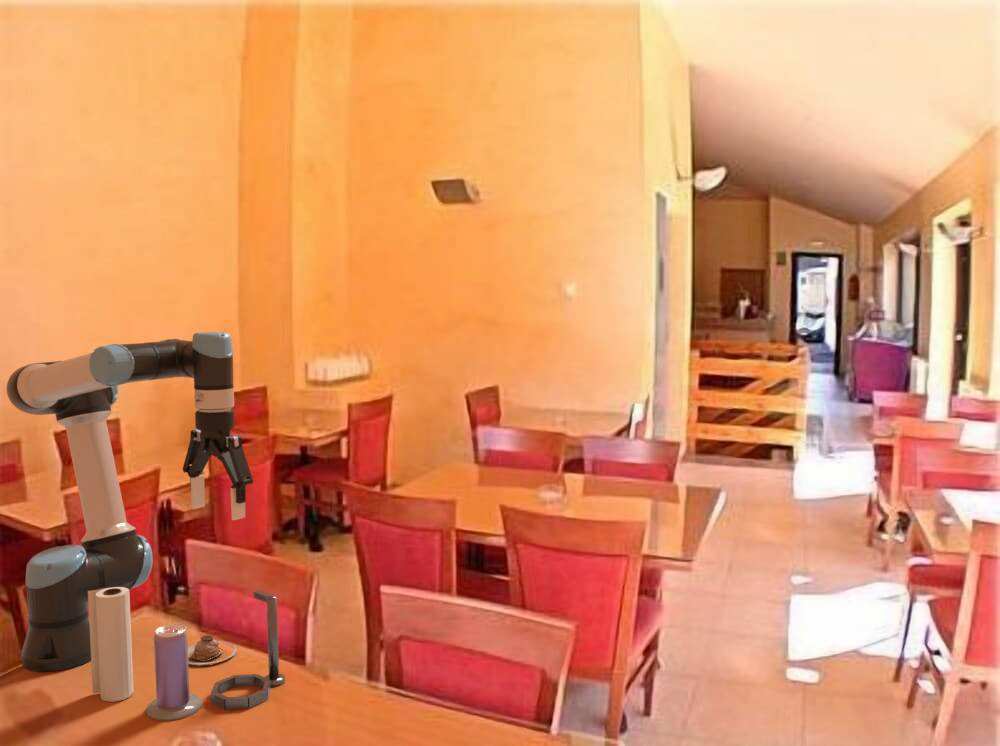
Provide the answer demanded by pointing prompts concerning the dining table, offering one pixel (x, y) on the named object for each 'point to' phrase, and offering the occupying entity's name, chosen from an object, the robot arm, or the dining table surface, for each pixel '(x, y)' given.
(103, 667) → the paper towel roll
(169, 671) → the beverage can
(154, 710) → the coaster
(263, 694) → the stand
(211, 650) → the pastry
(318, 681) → the dining table surface
